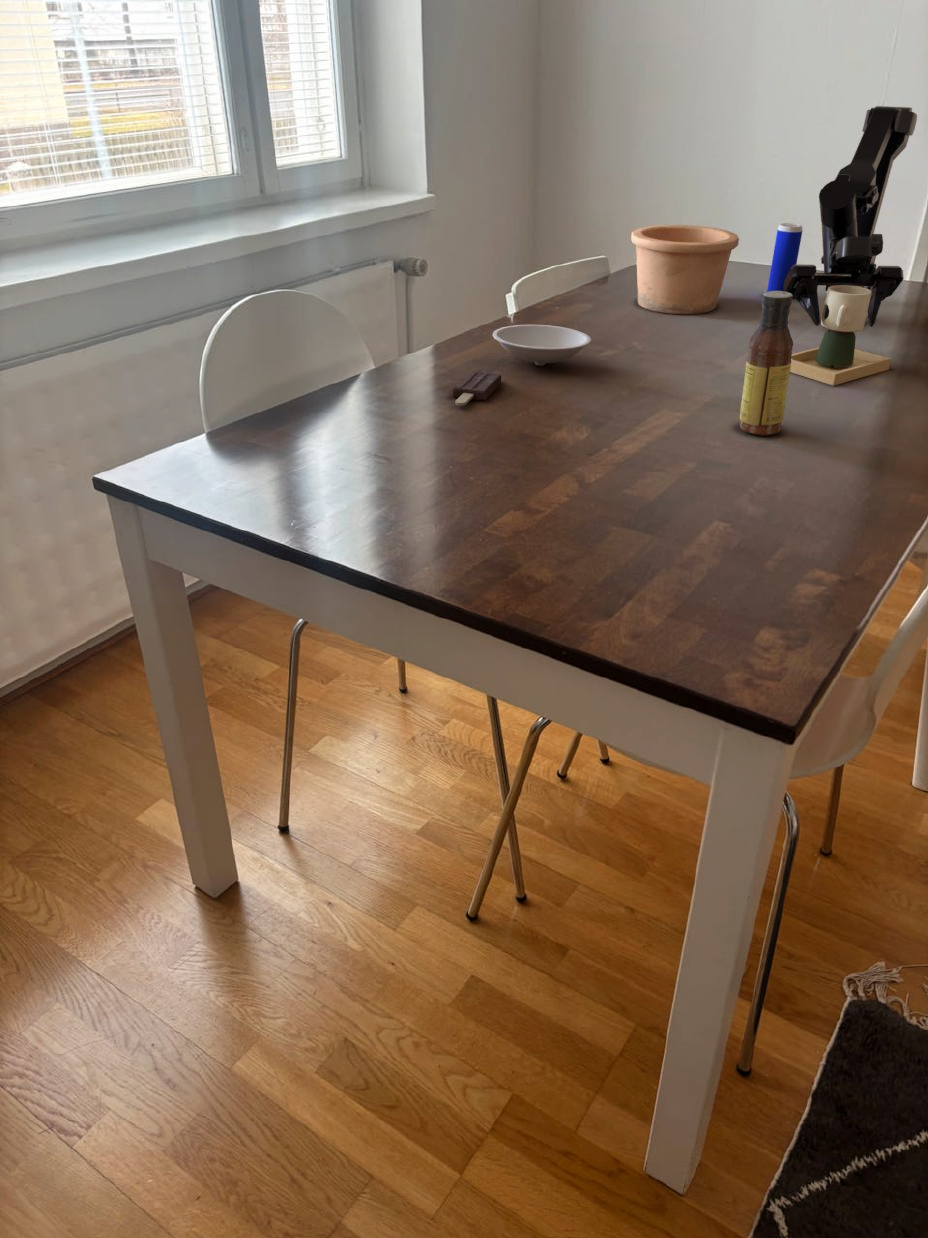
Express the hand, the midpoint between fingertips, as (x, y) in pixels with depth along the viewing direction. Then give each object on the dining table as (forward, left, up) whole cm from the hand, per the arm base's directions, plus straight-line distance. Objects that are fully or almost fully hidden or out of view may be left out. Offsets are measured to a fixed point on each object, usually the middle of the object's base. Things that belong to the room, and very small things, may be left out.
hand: (844, 324), depth 163 cm
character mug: (-1, -1, -8) cm, 8 cm away
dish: (+34, -39, -8) cm, 52 cm away
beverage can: (-41, -34, -8) cm, 54 cm away
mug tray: (-1, -1, -8) cm, 8 cm away
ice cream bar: (+54, -36, -8) cm, 65 cm away
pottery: (-19, -46, -8) cm, 50 cm away
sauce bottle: (+35, +5, -8) cm, 37 cm away
